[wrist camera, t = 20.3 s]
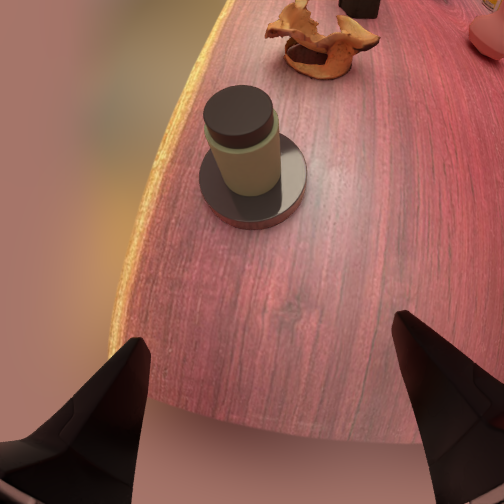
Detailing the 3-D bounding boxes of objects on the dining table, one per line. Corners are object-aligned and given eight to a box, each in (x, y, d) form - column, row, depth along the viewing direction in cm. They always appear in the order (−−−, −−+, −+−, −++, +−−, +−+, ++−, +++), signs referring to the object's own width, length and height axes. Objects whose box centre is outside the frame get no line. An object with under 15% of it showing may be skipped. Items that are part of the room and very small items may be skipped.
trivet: (264, 251, 24) (263, 244, 23) (184, 194, 26) (177, 184, 25) (324, 171, 26) (327, 160, 24) (245, 125, 28) (242, 113, 26)
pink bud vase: (503, 74, 27) (532, 27, 15) (465, 52, 28) (490, -1, 17) (496, 51, 28) (519, 7, 17) (461, 31, 30) (480, -17, 18)
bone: (265, 82, 29) (258, 23, 21) (270, 35, 31) (265, -16, 23) (374, 91, 27) (390, 35, 19) (362, 42, 29) (371, -7, 21)
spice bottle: (292, 179, 24) (293, 118, 16) (238, 207, 23) (217, 153, 16) (263, 138, 25) (254, 72, 17) (213, 162, 25) (187, 102, 17)
